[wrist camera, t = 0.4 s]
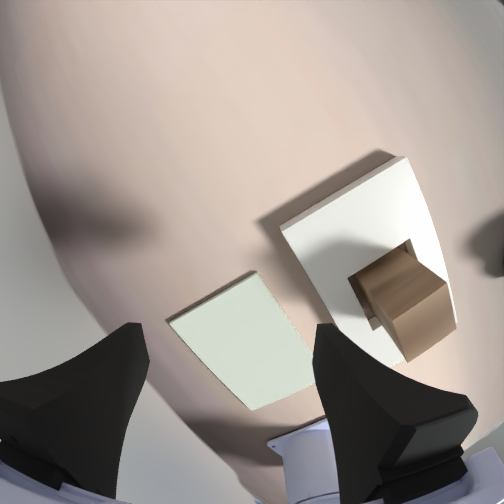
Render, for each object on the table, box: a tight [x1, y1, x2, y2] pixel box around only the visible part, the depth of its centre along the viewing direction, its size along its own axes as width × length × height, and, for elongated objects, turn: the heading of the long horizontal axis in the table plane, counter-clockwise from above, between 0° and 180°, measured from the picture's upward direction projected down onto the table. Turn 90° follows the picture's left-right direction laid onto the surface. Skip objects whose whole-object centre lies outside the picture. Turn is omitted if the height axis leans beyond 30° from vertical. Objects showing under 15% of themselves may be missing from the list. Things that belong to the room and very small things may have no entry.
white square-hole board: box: [279, 156, 457, 368], centre depth 21 cm, size 16×10×2 cm, turn 32°
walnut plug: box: [354, 246, 456, 362], centre depth 18 cm, size 4×4×7 cm
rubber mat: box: [169, 272, 315, 411], centre depth 23 cm, size 12×8×1 cm, turn 32°
